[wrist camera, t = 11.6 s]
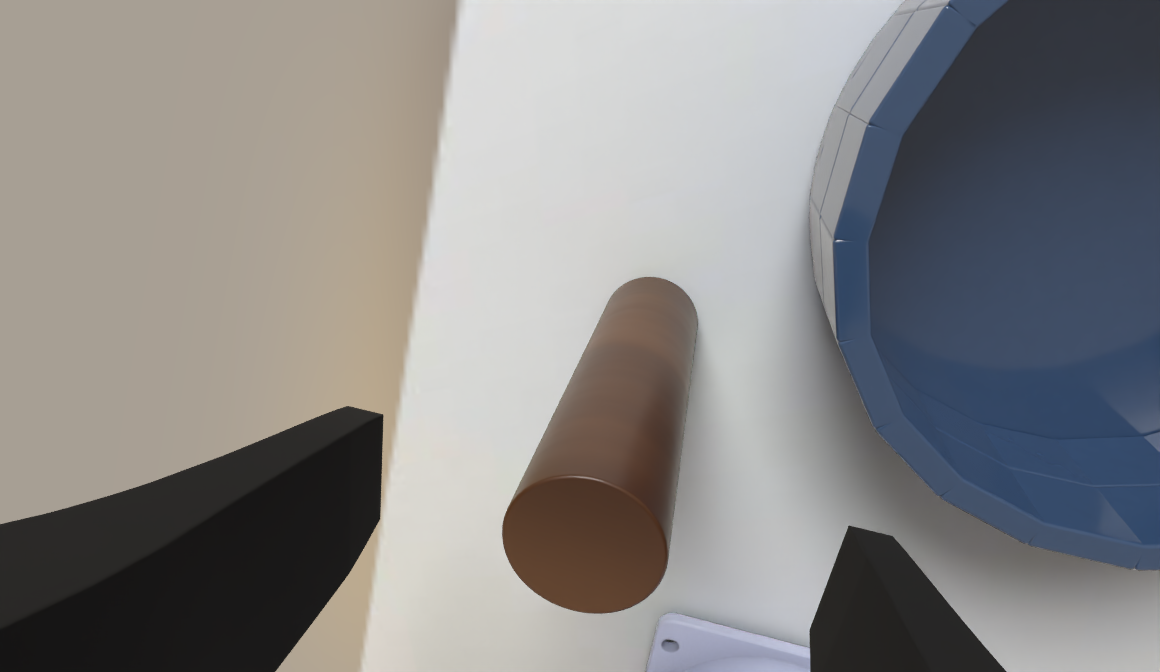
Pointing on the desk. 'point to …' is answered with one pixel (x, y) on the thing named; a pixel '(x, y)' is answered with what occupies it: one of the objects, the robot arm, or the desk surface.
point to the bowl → (1006, 261)
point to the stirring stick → (610, 459)
